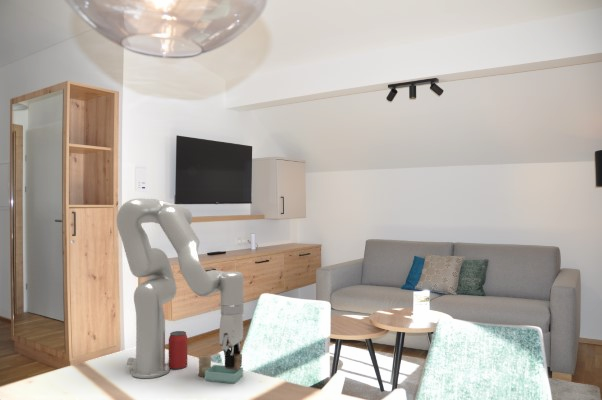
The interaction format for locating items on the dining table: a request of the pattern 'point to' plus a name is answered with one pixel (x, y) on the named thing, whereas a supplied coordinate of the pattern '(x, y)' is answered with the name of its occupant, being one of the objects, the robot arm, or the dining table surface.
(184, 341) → the beer can
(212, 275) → the robot arm
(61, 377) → the dining table surface
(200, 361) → the beech dowel
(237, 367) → the walnut cube
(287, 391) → the dining table surface
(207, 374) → the tote
